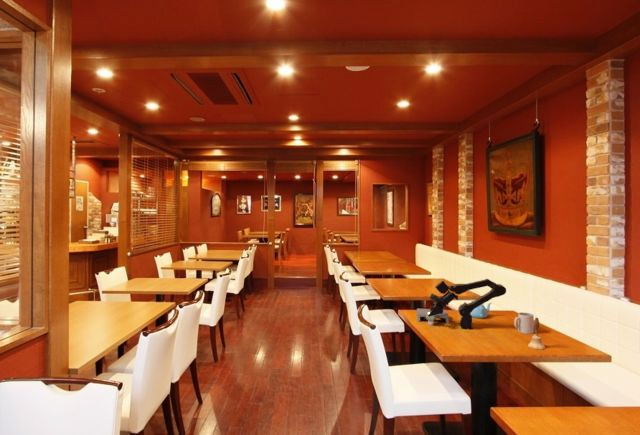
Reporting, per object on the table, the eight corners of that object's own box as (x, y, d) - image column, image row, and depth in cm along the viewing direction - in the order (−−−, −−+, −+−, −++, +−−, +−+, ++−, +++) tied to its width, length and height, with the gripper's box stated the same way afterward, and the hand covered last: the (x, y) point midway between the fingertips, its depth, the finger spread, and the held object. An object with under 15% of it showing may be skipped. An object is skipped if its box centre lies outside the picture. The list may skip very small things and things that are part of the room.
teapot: (482, 320, 259) (483, 305, 259) (462, 316, 270) (462, 301, 270) (491, 316, 269) (492, 302, 269) (471, 312, 280) (471, 298, 280)
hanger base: (446, 317, 266) (446, 310, 266) (448, 323, 251) (448, 316, 251) (416, 315, 271) (416, 308, 271) (417, 321, 255) (417, 314, 255)
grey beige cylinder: (435, 323, 250) (435, 310, 250) (436, 326, 244) (436, 312, 244) (425, 323, 251) (425, 309, 251) (425, 325, 245) (426, 312, 245)
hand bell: (524, 344, 211) (524, 316, 211) (538, 344, 212) (538, 315, 212) (534, 349, 203) (534, 320, 203) (548, 349, 204) (549, 319, 204)
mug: (526, 329, 239) (526, 312, 239) (536, 333, 231) (537, 315, 231) (509, 330, 237) (510, 313, 237) (519, 334, 228) (519, 316, 228)
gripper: (436, 287, 255) (419, 302, 258) (437, 292, 237) (419, 308, 240) (449, 299, 253) (431, 314, 256) (450, 305, 235) (432, 322, 238)
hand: (428, 314), depth 248 cm, fingers closed on grey beige cylinder, 6 cm apart
